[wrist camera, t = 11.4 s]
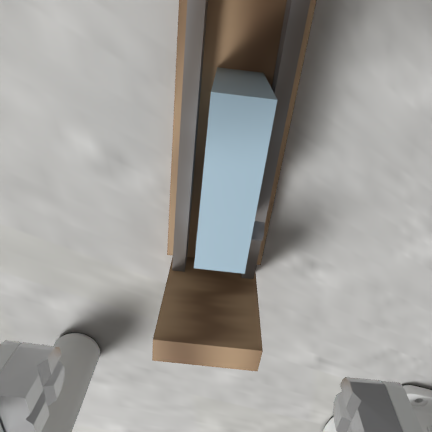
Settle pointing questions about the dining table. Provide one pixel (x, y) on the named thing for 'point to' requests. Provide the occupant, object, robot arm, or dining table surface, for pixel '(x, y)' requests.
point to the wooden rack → (194, 164)
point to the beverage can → (72, 380)
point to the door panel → (233, 169)
